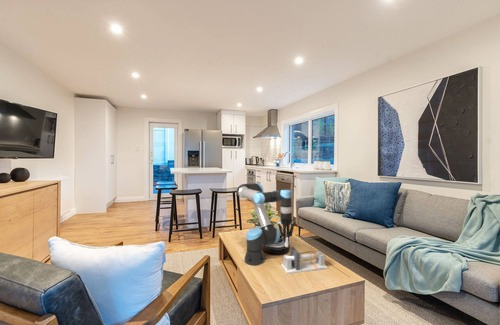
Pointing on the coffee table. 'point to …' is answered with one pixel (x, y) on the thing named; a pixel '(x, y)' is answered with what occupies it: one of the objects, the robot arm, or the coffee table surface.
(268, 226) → the robot arm
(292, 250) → the collar
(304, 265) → the pipe stand
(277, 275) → the coffee table surface
